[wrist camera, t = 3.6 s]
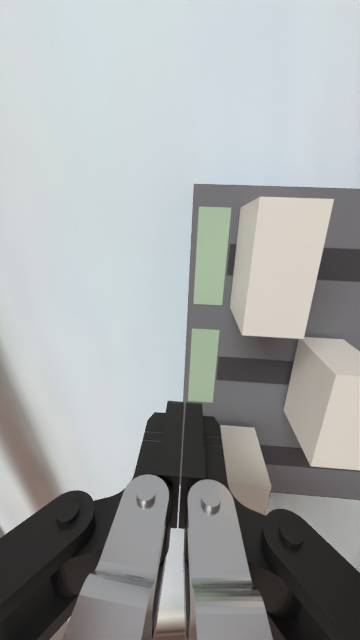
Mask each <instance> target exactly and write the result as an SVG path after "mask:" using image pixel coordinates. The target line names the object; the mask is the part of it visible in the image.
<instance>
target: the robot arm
mask: <svg viewBox="0 0 360 640" xmlns="http://www.w3.org/2000/svg"><path fill="white" fill-rule="evenodd" d="M183 415H184V402H176V401H168V403H167V409H166V413H157V412H155V413H154V414H153V415H152V416H151V417H150V418H149V420H148V421H147V425H146V429H145V433H144V437H143V441H142V445H141V449H140V453H139V457H138V461H137V465H136V469H135V473H134V476H133V479H132V481H131V482H130V483H129V484H128V485H127V486H126V488H125V489H124V490H123V491H121V492H120V493H118V494H116V495H114V496H111V497H107V498H103V499H99V500H95V501H93V499H92V498H91V496H90V495H89V494H87V493H86V492H83V491H78V490H77V491H69V492H66V493H64V494H62V495H60V496H59V497H57V498H56V499H54V500H53V501H51V502H50V503H49V504H47V505H46V506H44V507H43V508H42V509H40V510H39V511H37V512H36V513H35V514H33V515H32V516H31V517H29V518H28V519H26V520H25V521H24V522H22V523H21V524H19V525H18V526H17V527H15V528H14V529H12V530H11V531H10V532H8V533H7V534H6V535H4V536H3V537H1V538H0V640H49V639H50V638H51V637H52V636H53V635H54V634H55V632H57V630H58V629H59V628H60V627H61V626H62V625H63V624H64V623H65V622H66V621H67V620H68V618H69V617H70V616H71V618H70V620H69V623H68V626H67V628H66V631H65V634H64V636H63V639H62V640H154V637H155V631H156V624H157V617H158V611H159V604H160V597H161V591H162V584H163V577H164V571H165V564H166V556H167V553H168V549H169V541H170V529H171V528H177V513H178V497H179V481H180V464H181V448H182V432H183ZM221 437H222V436H221V428H220V425H219V423H218V422H217V420H216V419H215V417H213V416H203V409H202V403H191V402H186V405H185V422H184V439H183V457H182V475H181V493H180V512H179V528H182V529H185V533H184V554H183V572H184V611H185V640H273V638H272V636H273V637H274V639H275V640H360V573H359V572H358V571H357V570H356V569H355V568H354V567H353V566H352V565H351V564H350V563H349V562H348V561H347V560H346V559H345V558H343V557H342V556H341V555H340V554H339V553H338V552H337V551H336V550H335V549H334V548H333V547H332V546H331V545H330V544H329V543H328V542H327V541H326V540H325V539H323V538H322V537H321V536H320V535H319V534H318V533H317V532H316V531H315V530H314V529H313V528H312V527H311V526H310V525H309V524H308V523H307V522H306V521H305V520H303V519H302V518H301V517H300V516H298V515H297V514H295V513H293V512H291V511H288V510H284V509H275V510H273V511H271V512H269V513H268V514H267V515H266V516H265V515H263V514H261V513H258V512H256V511H254V510H251V509H249V508H247V507H245V506H244V505H242V504H241V503H240V502H239V501H238V500H237V499H236V498H235V497H234V496H233V494H232V493H231V491H230V489H229V486H228V482H227V474H226V466H225V459H224V451H223V444H222V438H221Z"/></svg>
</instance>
